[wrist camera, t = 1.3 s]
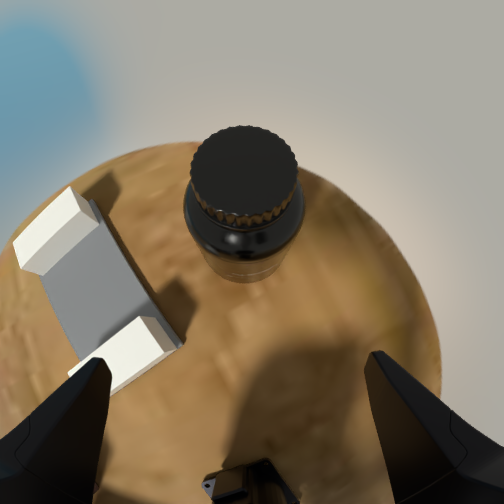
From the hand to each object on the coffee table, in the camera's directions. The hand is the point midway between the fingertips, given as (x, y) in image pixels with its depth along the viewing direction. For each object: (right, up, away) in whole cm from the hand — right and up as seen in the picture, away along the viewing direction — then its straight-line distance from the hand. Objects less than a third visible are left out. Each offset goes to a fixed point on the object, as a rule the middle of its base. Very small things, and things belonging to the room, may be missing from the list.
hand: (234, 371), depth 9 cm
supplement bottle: (0, +4, +15) cm, 16 cm away
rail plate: (-13, 0, +14) cm, 19 cm away
